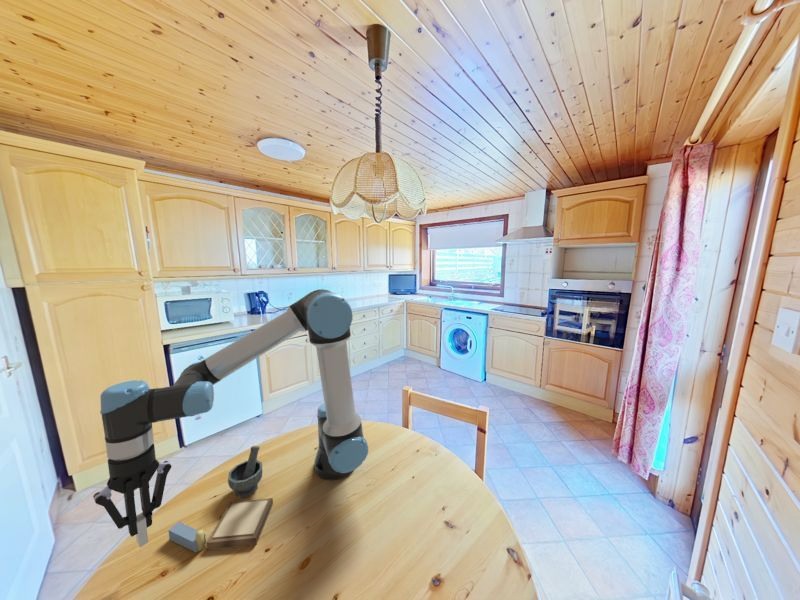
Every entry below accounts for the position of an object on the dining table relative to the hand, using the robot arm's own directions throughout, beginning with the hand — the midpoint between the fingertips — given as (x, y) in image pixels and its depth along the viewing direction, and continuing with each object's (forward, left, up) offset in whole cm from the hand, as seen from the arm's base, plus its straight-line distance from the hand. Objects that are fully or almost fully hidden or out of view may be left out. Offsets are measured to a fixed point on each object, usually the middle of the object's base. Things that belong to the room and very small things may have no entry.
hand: (142, 541), depth 64 cm
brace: (-6, -5, -7) cm, 11 cm away
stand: (-18, -9, -7) cm, 21 cm away
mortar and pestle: (-14, -22, -7) cm, 27 cm away
